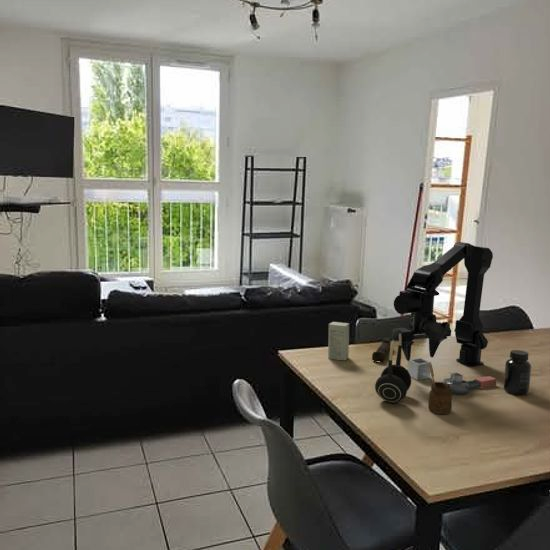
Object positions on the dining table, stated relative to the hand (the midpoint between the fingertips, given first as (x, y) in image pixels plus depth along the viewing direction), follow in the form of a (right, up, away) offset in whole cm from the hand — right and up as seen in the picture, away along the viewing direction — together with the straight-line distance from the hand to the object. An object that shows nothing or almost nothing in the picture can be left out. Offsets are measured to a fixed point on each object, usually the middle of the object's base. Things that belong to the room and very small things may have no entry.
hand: (419, 358), depth 163 cm
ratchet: (+13, -7, -7) cm, 17 cm away
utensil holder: (-1, -10, -23) cm, 25 cm away
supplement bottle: (+26, -8, -9) cm, 29 cm away
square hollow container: (0, -6, +1) cm, 6 cm away
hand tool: (-8, -2, +22) cm, 23 cm away
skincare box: (-24, -3, +17) cm, 29 cm away
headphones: (-12, -9, -16) cm, 22 cm away
